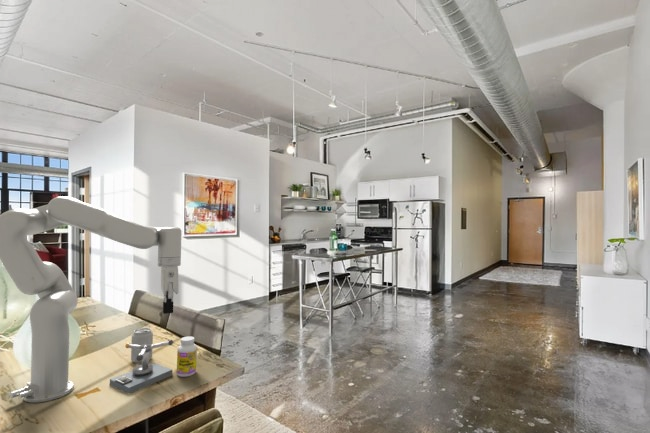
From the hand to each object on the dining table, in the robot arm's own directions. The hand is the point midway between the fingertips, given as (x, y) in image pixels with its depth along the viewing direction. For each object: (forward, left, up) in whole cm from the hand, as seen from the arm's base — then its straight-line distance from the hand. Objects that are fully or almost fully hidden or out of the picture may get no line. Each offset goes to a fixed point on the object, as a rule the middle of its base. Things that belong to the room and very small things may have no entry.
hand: (168, 312), depth 124 cm
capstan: (-5, +7, -21) cm, 22 cm away
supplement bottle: (+6, -3, -23) cm, 24 cm away
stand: (-6, +5, -23) cm, 24 cm away
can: (+4, +21, -23) cm, 32 cm away
